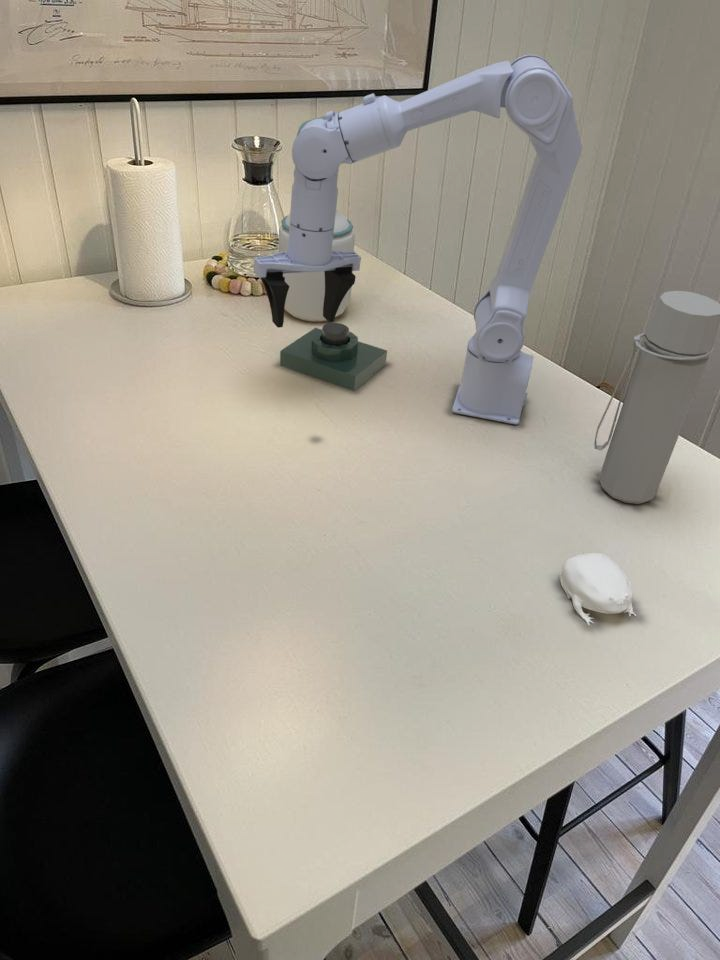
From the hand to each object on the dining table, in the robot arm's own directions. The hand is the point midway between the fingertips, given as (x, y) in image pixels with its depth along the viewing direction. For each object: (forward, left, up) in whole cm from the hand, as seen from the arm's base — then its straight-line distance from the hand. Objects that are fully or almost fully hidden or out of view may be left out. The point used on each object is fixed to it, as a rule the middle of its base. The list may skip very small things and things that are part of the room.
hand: (303, 321), depth 104 cm
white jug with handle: (+6, -25, -10) cm, 28 cm away
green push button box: (-3, -8, -10) cm, 13 cm away
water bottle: (-45, +10, -10) cm, 47 cm away
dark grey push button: (-3, -8, -6) cm, 10 cm away
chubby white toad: (-42, +31, -10) cm, 53 cm away
